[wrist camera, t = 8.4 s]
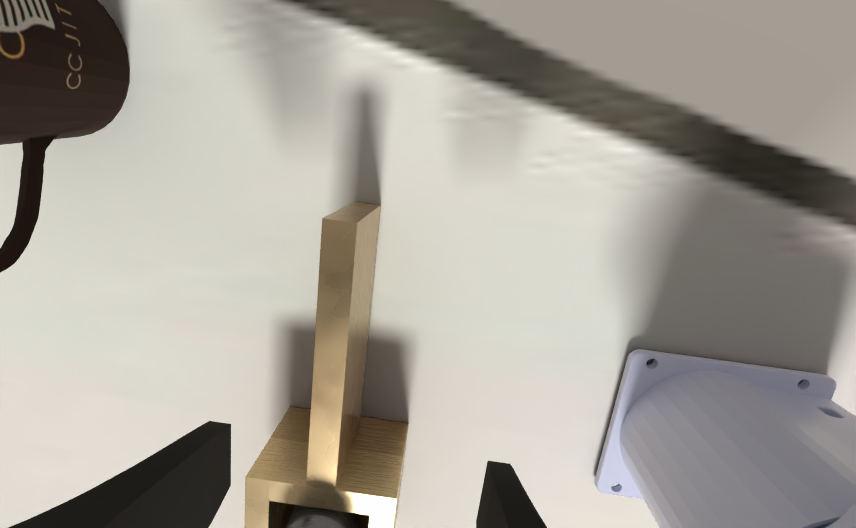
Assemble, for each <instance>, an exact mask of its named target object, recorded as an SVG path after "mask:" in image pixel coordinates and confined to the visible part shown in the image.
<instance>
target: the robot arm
mask: <svg viewBox="0 0 856 528" xmlns="http://www.w3.org/2000/svg"><path fill="white" fill-rule="evenodd" d="M649 359H654V361H653V363H652V364H650V365H646V363H647V361H648V360H649ZM801 380H803V381H802V383H801V384H799V385H798V383H799V382H800V381H801ZM835 389H836V382H835V381H834V380H833V379H832V378H831V377H829V376H827V375H824V374H819V373H811V372H804V371H797V370H789V369H782V368H775V367H767V366H760V365H753V364H745V363H738V362H731V361H723V360H716V359H709V358H701V357H694V356H687V355H679V354H672V353H665V352H658V351H650V350H643V349H636V350H634V351H632V352H631V353H630V354H629V356H628V358H627V362H626V365H625V369H624V373H623V377H622V380H621V384H620V388H619V391H618V395H617V399H616V403H615V406H614V410H613V414H612V417H611V421H610V425H609V429H608V432H607V436H606V440H605V443H604V447H603V451H602V455H601V458H600V462H599V466H598V469H597V473H596V477H595V485H596V487H597V490H598V491H599V492H600V493H603V494H610V495H617V496H624V497H631V498H638V499H644V500H645V502H646V504H647V506H648V507H649V509H650V511H651V513H652V515H653V516H654V518H655V520H656V522H657V524H658V525H659V527H660V528H856V416H855V415H853V414H852V413H850V412H848V411H847V410H845V409H844V408H842V407H841V406H839V405H838V404H836V403H835V402H833V401H832V400H831V399H832V396H833V394H834V391H835ZM616 483H618V485H616V486H612V485H613V484H616ZM230 485H231V424H226V423H219V422H212V421H209V422H207V423H205V424H203V425H202V426H200V427H198V428H196V429H195V430H193V431H191V432H190V433H188V434H186V435H185V436H183V437H182V438H180V439H178V440H177V441H175V442H173V443H172V444H170V445H168V446H167V447H165V448H163V449H162V450H160V451H158V452H157V453H155V454H153V455H152V456H150V457H148V458H147V459H145V460H143V461H141V462H140V463H138V464H136V465H135V466H133V467H131V468H129V469H127V470H126V471H124V472H122V473H120V474H118V475H117V476H115V477H113V478H111V479H109V480H107V481H106V482H104V483H102V484H100V485H98V486H96V487H95V488H93V489H91V490H89V491H87V492H85V493H83V494H81V495H79V496H77V497H75V498H73V499H71V500H69V501H67V502H65V503H63V504H61V505H59V506H56V507H54V508H52V509H50V510H48V511H46V512H44V513H41V514H39V515H37V516H35V517H33V518H30V519H28V520H26V521H23V522H21V523H18V524H16V525H14V526H11V527H9V528H208V527H209V525H210V524H211V522H212V520H213V519H214V517H215V515H216V513H217V511H218V509H219V507H220V505H221V503H222V501H223V499H224V497H225V495H226V493H227V491H228V489H229V487H230ZM476 528H547V527H546V525H545V524H544V522H543V520H542V519H541V517H540V516H539V514H538V512H537V511H536V509H535V507H534V505H533V504H532V502H531V500H530V499H529V497H528V495H527V493H526V491H525V490H524V488H523V486H522V484H521V482H520V480H519V479H518V477H517V475H516V473H515V471H514V469H513V467H512V466H511V465H510V464H507V463H500V462H493V461H488V463H487V468H486V473H485V478H484V484H483V489H482V494H481V499H480V505H479V510H478V515H477V521H476Z"/></svg>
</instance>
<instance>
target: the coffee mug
mask: <svg viewBox="0 0 856 528" xmlns="http://www.w3.org/2000/svg"><path fill="white" fill-rule="evenodd" d="M128 86H129V62H128V55H127V50H126V47H125V44H124V41H123V38H122V35H121V34H120V32H119V30H118V28H117V26H116V24H115V22H114V20H113V19H112V18H111V16H110V15H109V14H108V12H107V11H106V10H105V8H104V7H103V6H102V5H101V4H100V3H99V2H98V1H97V0H0V145H2V144H12V143H21V142H23V162H22V168H21V178H20V189H19V196H18V204H17V210H16V217H15V222H14V226H13V228H12V230H11V232H10V234H9V235H8V237H7V238H6V240H5V241H4V243H3V245H2V247H1V248H0V272H2V271H4V270H6V269H7V268H9V267H10V266H11V265H13V264H14V263H15V262H16V261H17V260H18V258H19V257H20V256H21V254H22V253H23V251H24V250H25V248H26V246H27V245H28V243H29V241H30V238H31V235H32V233H33V230H34V228H35V225H36V222H37V219H38V215H39V208H40V200H41V191H42V183H43V164H44V159H45V150H46V149H47V147H48V146H49V145H50V143H51V142H52V141H53V139H60V138H70V137H79V136H84V135H88V134H92V133H94V132H96V131H98V130H100V129H102V128H104V127H105V126H106V125H107V124H109V123H110V122H111V121H112V120H113V119H114V118H115V116H116V115H117V114H118V112H119V111H120V110H121V108H122V105H123V103H124V101H125V98H126V95H127V91H128Z"/></svg>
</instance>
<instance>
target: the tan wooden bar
mask: <svg viewBox="0 0 856 528" xmlns="http://www.w3.org/2000/svg"><path fill="white" fill-rule="evenodd" d="M380 209H381V205H376V204H368V203H360V202H353V203H351V204H349V205H347V206H345V207H343V208H341V209H340V210H338V211H336V212H334V213H332V214H330V215H328V216H326V217H324V218H322V234H321V250H320V267H319V283H318V299H317V316H316V332H315V349H314V365H313V382H312V398H311V409H304V408H297V407H290V408H289V409H288V411H287V412H286V414H285V416H284V417H283V419H282V420H281V422H280V423H279V425H278V427H277V428H276V430H275V431H274V433H273V435H272V436H271V438H270V439H269V441H268V442H267V444H266V446H265V447H264V449H263V450H262V452H261V453H260V455H259V457H258V458H257V460H256V461H255V463H254V465H253V466H252V468H251V469H250V471H249V472H248V474H247V476H246V479H245V528H285V527H286V525H287V523H288V521H289V518H290V516H291V514H292V512H293V509H294V507H295V505H302V506H309V507H315V508H322V509H329V510H336V511H343V512H350V513H357V514H361V516H360V520H359V524H358V528H395V523H396V516H397V508H398V501H399V493H400V485H401V477H402V470H403V462H404V454H405V447H406V439H407V431H408V423H403V422H396V421H389V420H382V419H375V418H368V417H361V408H362V397H363V387H364V376H365V366H366V355H367V345H368V334H369V324H370V314H371V303H372V293H373V282H374V272H375V261H376V251H377V240H378V230H379V219H380Z"/></svg>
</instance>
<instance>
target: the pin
mask: <svg viewBox="0 0 856 528" xmlns="http://www.w3.org/2000/svg"><path fill="white" fill-rule="evenodd" d="M360 516H361V514H357V513H350V512H343V511H336V510H329V509H322V508H315V507H309V506H302V505H295V507H294V509H293V512H292V514H291V516H290V518H289V521H288V523H287V525H286V527H285V528H358V524H359V520H360Z"/></svg>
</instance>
